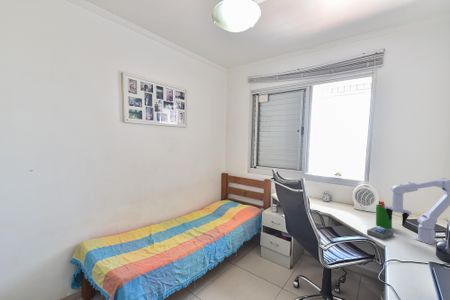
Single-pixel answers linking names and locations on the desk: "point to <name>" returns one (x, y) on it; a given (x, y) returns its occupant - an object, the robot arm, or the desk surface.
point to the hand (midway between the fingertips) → (397, 221)
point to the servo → (379, 229)
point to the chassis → (380, 233)
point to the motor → (382, 216)
